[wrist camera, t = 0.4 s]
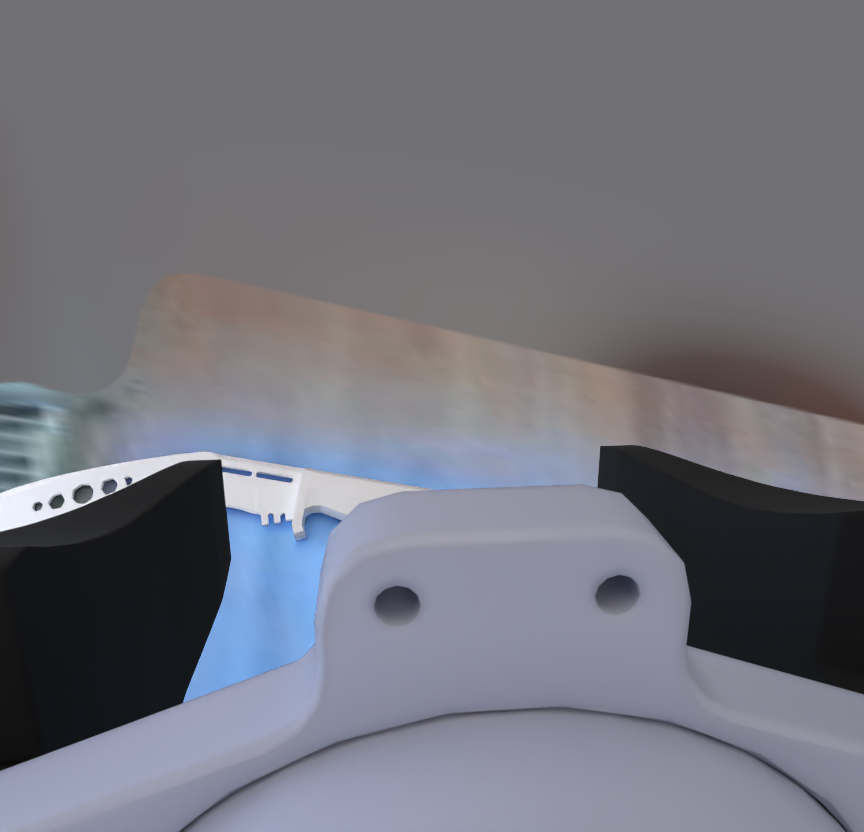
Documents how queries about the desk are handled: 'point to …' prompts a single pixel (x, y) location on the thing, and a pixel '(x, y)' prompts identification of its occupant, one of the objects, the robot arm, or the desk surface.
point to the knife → (241, 492)
